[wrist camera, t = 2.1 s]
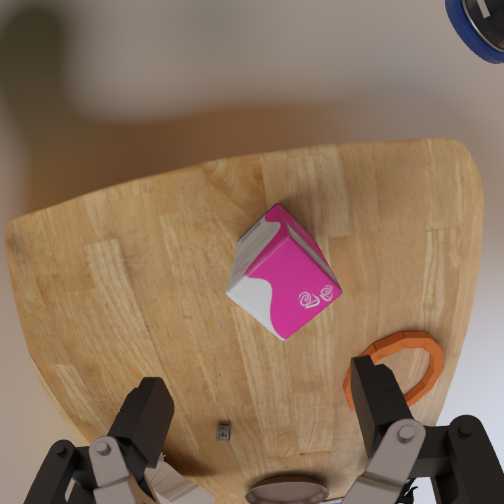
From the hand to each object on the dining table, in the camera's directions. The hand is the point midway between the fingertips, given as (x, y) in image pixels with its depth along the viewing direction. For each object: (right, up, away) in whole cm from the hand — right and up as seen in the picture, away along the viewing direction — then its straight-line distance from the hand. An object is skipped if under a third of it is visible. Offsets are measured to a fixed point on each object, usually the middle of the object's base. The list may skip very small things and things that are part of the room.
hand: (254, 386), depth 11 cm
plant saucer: (+7, -45, +36) cm, 58 cm away
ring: (+20, -12, +24) cm, 33 cm away
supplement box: (+2, +7, +19) cm, 20 cm away
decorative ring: (-4, -21, +29) cm, 36 cm away
